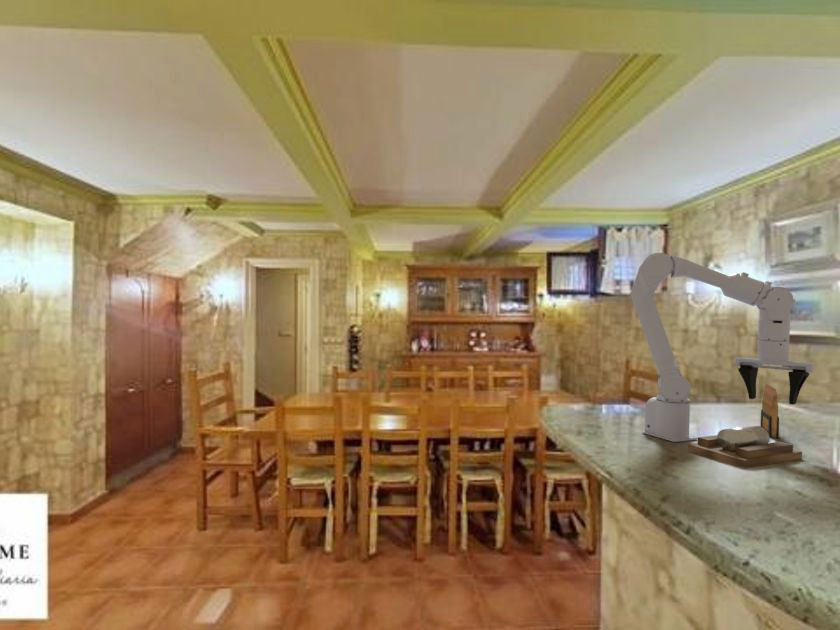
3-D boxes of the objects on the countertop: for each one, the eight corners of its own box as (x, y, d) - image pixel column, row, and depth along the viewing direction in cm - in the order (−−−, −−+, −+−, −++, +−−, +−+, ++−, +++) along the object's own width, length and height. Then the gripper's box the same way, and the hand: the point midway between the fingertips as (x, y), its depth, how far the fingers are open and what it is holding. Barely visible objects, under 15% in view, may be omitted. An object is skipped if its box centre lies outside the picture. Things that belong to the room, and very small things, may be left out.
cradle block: (688, 451, 106) (688, 437, 106) (744, 444, 113) (744, 431, 113) (744, 468, 95) (744, 452, 94) (801, 459, 102) (802, 444, 101)
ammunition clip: (778, 438, 119) (780, 389, 118) (769, 437, 119) (770, 388, 119) (768, 429, 128) (769, 383, 128) (760, 428, 129) (761, 383, 129)
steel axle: (713, 433, 104) (730, 426, 100) (744, 430, 108) (762, 422, 104) (723, 454, 102) (741, 447, 98) (755, 449, 106) (773, 442, 102)
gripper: (730, 339, 113) (728, 397, 113) (808, 343, 102) (806, 408, 102) (742, 338, 117) (740, 395, 118) (818, 342, 106) (816, 405, 106)
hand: (771, 401), depth 110 cm, fingers open, 7 cm apart
